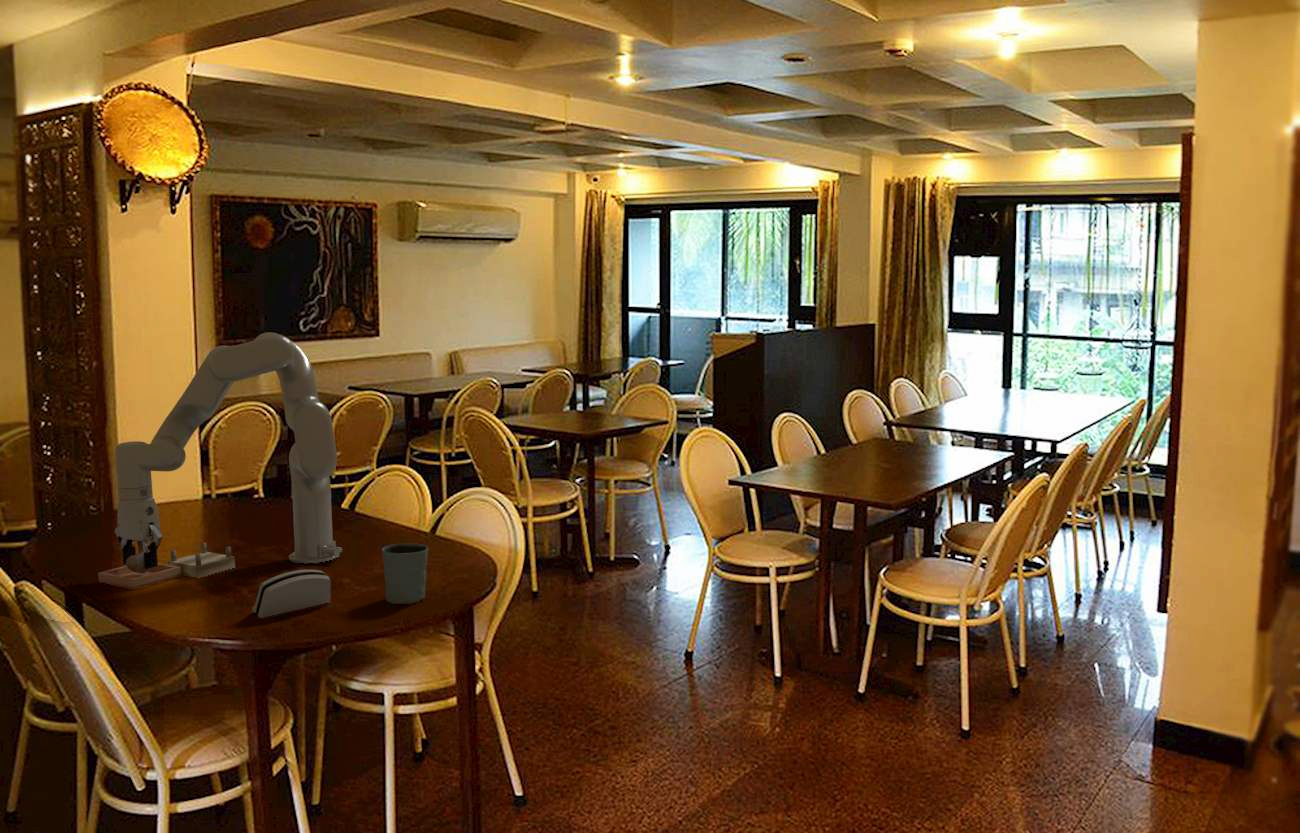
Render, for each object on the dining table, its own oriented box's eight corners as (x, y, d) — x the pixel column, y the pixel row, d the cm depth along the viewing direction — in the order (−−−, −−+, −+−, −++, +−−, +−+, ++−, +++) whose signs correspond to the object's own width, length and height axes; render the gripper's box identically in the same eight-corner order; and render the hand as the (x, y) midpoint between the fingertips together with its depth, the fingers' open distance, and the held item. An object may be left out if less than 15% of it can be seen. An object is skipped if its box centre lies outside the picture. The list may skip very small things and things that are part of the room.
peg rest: (235, 568, 280) (234, 546, 280) (198, 578, 271) (197, 556, 270) (205, 562, 286) (204, 541, 285) (168, 572, 276) (167, 551, 275)
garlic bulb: (145, 576, 265) (142, 543, 264) (117, 574, 267) (115, 542, 266) (164, 567, 273) (162, 535, 272) (138, 566, 274) (135, 534, 273)
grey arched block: (321, 598, 254) (326, 561, 250) (330, 609, 251) (336, 571, 247) (249, 613, 242) (254, 574, 239) (258, 625, 239) (263, 586, 236)
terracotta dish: (181, 577, 272) (180, 567, 272) (134, 590, 261) (133, 579, 261) (146, 570, 278) (145, 560, 278) (98, 583, 267) (98, 572, 267)
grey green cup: (375, 599, 253) (373, 547, 251) (413, 590, 260) (411, 540, 258) (399, 608, 246) (397, 555, 244) (438, 599, 253) (436, 547, 251)
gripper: (173, 493, 266) (177, 566, 268) (125, 487, 274) (130, 557, 277) (145, 499, 260) (150, 573, 262) (98, 492, 268) (103, 564, 270)
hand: (140, 564), depth 269 cm, fingers closed on garlic bulb, 7 cm apart
